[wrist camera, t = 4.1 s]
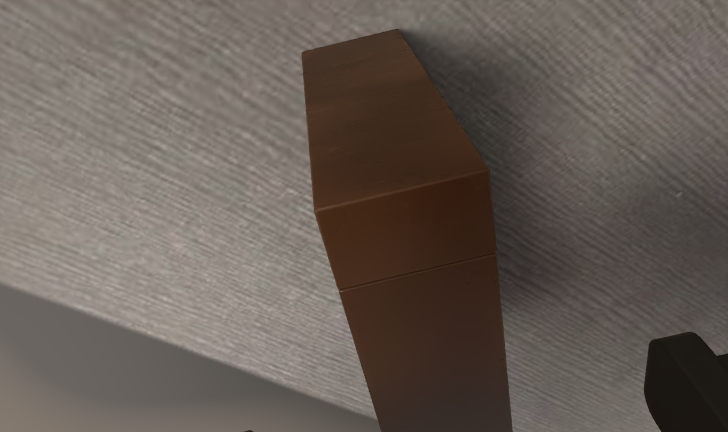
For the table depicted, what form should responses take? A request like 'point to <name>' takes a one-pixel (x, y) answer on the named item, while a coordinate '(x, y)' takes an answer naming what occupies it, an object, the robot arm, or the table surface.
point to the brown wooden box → (407, 237)
